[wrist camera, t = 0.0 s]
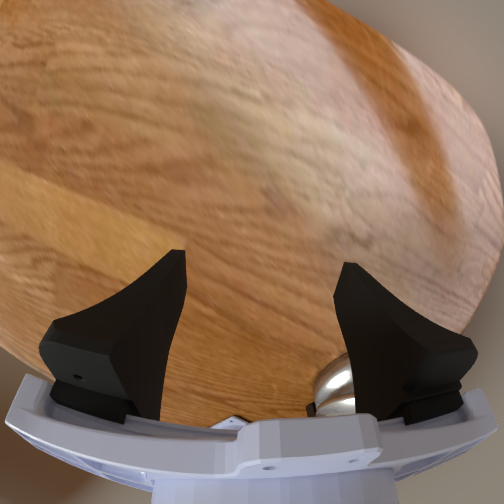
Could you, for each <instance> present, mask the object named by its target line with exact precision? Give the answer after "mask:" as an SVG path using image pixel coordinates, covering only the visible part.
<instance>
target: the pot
mask: <svg viewBox="0 0 504 504" xmlns="http://www.w3.org/2000/svg"><path fill="white" fill-rule="evenodd" d="M349 393H354V387H353V378H352V371H351V365H350V359H349V355H348V353H346V354H344V355H342V356H340V357H339V358H337V359H336V360H334V361H333V362H332V363H330V364H329V365H328V366H327V367H326V368H325V369H324V370H323V371H322V372H321V373H320V374H319V376H318V377H317V379H316V381H315V383H314V386H313V396H314V400H315V405H314V404H312V403H311V404H310V405H308V406H306V411H307V416H308V417H315V416H316V410H317V407H318V406H319V405H320V404H321V403H322V402H324V401H326V400H328V399H330V398H333V397H336V396H340V395H344V394H349Z"/></svg>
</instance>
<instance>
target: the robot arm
mask: <svg viewBox="0 0 504 504" xmlns="http://www.w3.org/2000/svg"><path fill="white" fill-rule="evenodd" d="M186 290H187V277H186V259H185V250H174V249H172V250H171V251H169V252H168V253H167V254H166V255H165V256H164V257H163V258H161V259H160V260H159V261H158V262H157V263H156V264H155V265H154V266H152V267H151V268H150V269H149V270H148V271H147V272H146V273H144V274H143V275H142V276H140V277H139V278H138V279H137V280H135V281H134V282H133V283H131V284H130V285H129V286H127V287H126V288H124V289H123V290H121V291H120V292H118V293H116V294H115V295H113V296H111V297H109V298H107V299H106V300H104V301H102V302H100V303H98V304H96V305H94V306H92V307H90V308H87V309H85V310H82V311H80V312H77V313H75V314H72V315H69V316H66V317H62V318H59V319H56V320H54V321H53V322H52V324H51V325H50V327H49V329H48V330H47V332H46V334H45V335H44V337H43V339H42V340H41V342H40V344H39V353H40V356H41V357H42V359H43V361H44V363H45V364H46V366H47V367H48V368H49V370H50V371H51V373H52V374H53V376H54V377H55V378H56V381H55V383H54V385H52V384H50V383H49V382H47V381H45V380H43V379H40V378H38V377H35V376H33V375H30V374H26V375H25V377H24V379H23V381H22V383H21V385H20V387H19V389H18V392H17V394H16V397H15V398H14V400H13V403H12V405H11V407H10V410H9V412H8V414H7V417H6V420H5V423H6V424H7V425H8V426H9V427H11V428H12V429H13V430H14V431H15V432H17V433H18V434H19V435H20V436H22V437H23V438H24V439H25V440H27V441H28V442H29V443H31V444H32V445H33V446H35V447H36V448H38V449H40V450H42V451H44V452H46V453H48V454H50V455H52V456H54V457H56V458H58V459H60V460H62V461H65V462H67V463H69V464H71V465H74V466H76V467H78V468H81V469H83V470H85V471H88V472H91V473H93V474H95V475H98V476H101V477H104V478H106V479H109V480H112V481H115V482H118V483H121V484H124V485H127V486H131V487H134V488H138V489H142V490H145V491H149V492H153V495H152V502H151V504H399V501H398V495H397V489H396V484H395V482H397V481H399V480H403V479H405V478H408V477H411V476H414V475H416V474H419V473H421V472H424V471H426V470H428V469H431V468H433V467H436V466H438V465H440V464H442V463H445V462H447V461H449V460H451V459H453V458H456V457H458V456H460V455H462V454H464V453H466V452H467V451H469V450H470V449H472V448H473V447H475V446H476V445H477V444H479V443H480V442H482V441H483V440H484V439H486V438H487V437H488V436H490V435H491V434H492V433H494V432H495V431H496V430H497V429H498V426H497V423H496V420H495V418H494V415H493V413H492V411H491V408H490V406H489V404H488V401H487V399H486V397H485V394H484V392H483V390H482V388H481V387H479V388H476V389H473V390H470V391H467V392H465V393H464V394H462V395H460V392H459V390H460V389H461V387H462V385H461V383H460V379H462V377H463V376H464V375H465V374H466V373H467V372H468V371H469V369H470V368H471V367H472V366H473V364H474V363H475V361H476V359H477V356H478V351H477V349H476V348H475V346H474V344H473V342H472V341H471V339H470V338H468V337H465V336H462V335H460V334H457V333H455V332H452V331H450V330H448V329H446V328H443V327H441V326H439V325H437V324H436V323H434V322H432V321H430V320H428V319H427V318H425V317H423V316H422V315H420V314H419V313H417V312H415V311H414V310H413V309H411V308H410V307H408V306H407V305H405V304H404V303H403V302H402V301H400V300H399V299H398V298H397V297H395V296H394V295H393V294H392V293H390V292H389V291H388V290H387V289H386V288H385V287H383V286H382V285H381V284H380V283H379V282H378V281H377V280H376V279H374V278H373V277H372V276H371V275H370V274H369V273H368V272H367V271H365V270H364V269H363V268H362V267H361V266H359V265H358V264H357V263H349V262H344V264H343V268H342V271H341V274H340V277H339V280H338V283H337V286H336V290H335V293H334V295H333V298H334V304H335V310H336V315H337V319H338V322H339V325H340V328H341V332H342V335H343V338H344V341H345V344H346V348H347V351H348V355H349V359H350V365H351V371H352V378H353V387H354V398H355V414H346V415H336V416H324V417H307V418H276V419H265V420H258V421H255V422H252V423H248V422H246V421H244V420H242V419H240V418H238V417H236V416H232V417H230V418H228V419H226V420H224V421H222V422H220V423H218V424H216V425H214V426H212V427H210V428H204V427H195V426H187V425H180V424H173V423H167V422H161V421H160V409H161V400H162V392H163V384H164V377H165V371H166V365H167V360H168V354H169V350H170V346H171V342H172V339H173V336H174V333H175V330H176V327H177V324H178V321H179V318H180V315H181V312H182V308H183V305H184V300H185V295H186Z"/></svg>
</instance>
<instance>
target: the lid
mask: <svg viewBox="0 0 504 504" xmlns="http://www.w3.org/2000/svg"><path fill="white" fill-rule="evenodd" d="M346 414H355V398H354V393H349V394H344V395H340V396H336V397H333V398H330V399H328V400H326V401H324V402H322V403H321V404H320V405H319V406H318V407H317V410H316V416H315V417H324V416H336V415H346Z"/></svg>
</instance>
